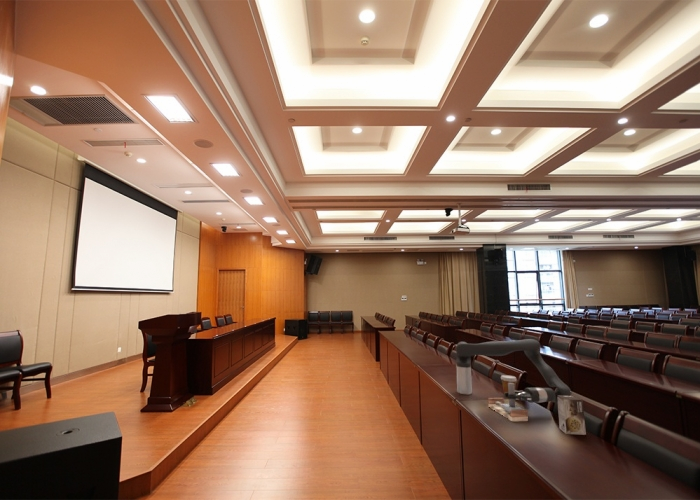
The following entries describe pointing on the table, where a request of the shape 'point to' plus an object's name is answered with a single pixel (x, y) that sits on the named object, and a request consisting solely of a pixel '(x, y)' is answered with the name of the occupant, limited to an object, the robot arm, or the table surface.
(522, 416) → the rail bed
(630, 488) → the table surface
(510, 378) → the disposable coffee cup
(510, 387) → the carriage
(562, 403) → the coffee box
